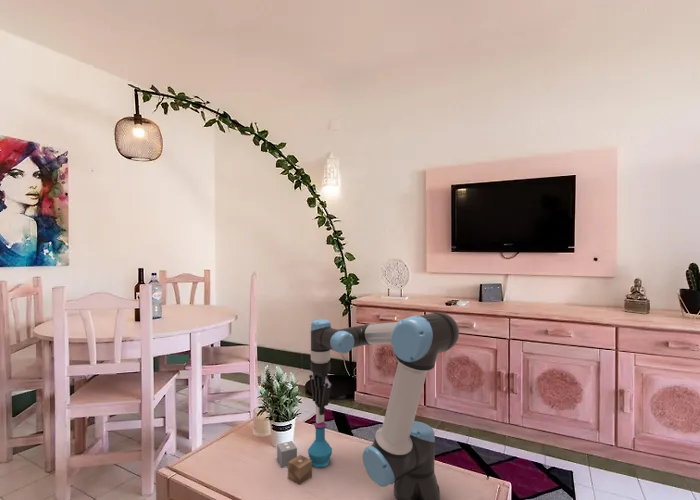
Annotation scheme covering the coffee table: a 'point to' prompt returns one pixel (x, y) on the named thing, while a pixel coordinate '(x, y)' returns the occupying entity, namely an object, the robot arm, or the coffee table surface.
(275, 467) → the coffee table surface
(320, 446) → the perfume bottle
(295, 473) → the walnut block
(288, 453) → the slate block
